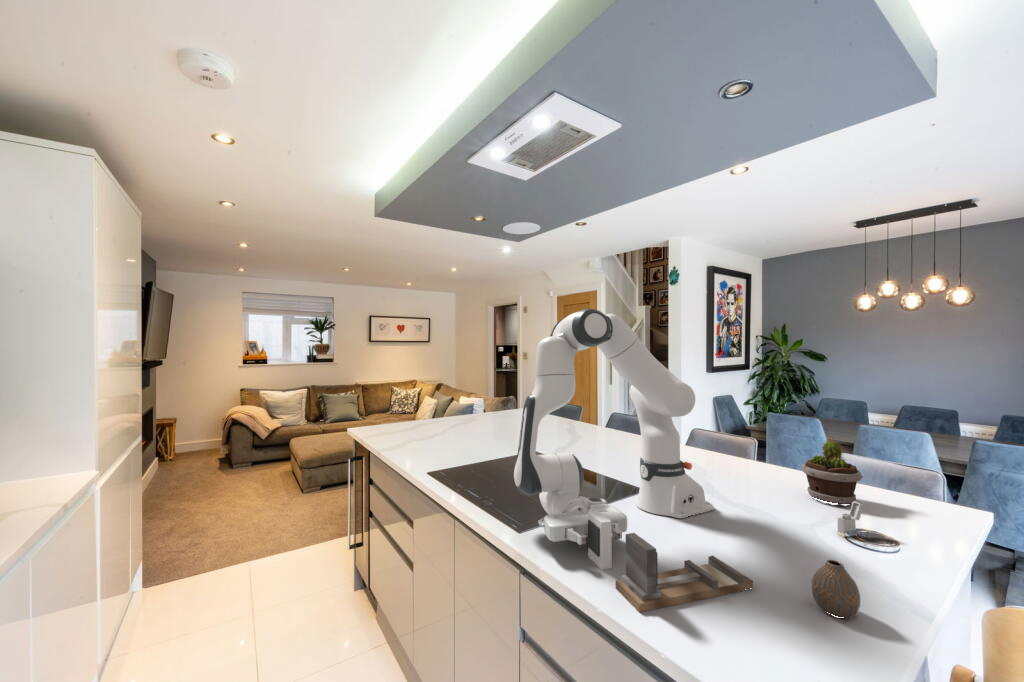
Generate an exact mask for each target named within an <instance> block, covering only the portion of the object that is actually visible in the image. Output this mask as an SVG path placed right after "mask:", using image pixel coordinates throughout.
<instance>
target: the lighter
mask: <svg viewBox="0 0 1024 682" xmlns="http://www.w3.org/2000/svg"><path fill="white" fill-rule="evenodd" d="M850 506H851V507H850V509H849V512H848V513H846V512H845V513H842V514H841V517H837V533H838V532H840V533H843V534H845V533H846V532H847V531H851V530H856V529H857V528H856V527H857V526H856V521H860V518H861V515H862V512H863V510H864V504H862V503H860V502H857V501H853V503H852V504H851V505H850Z"/></svg>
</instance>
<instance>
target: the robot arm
mask: <svg viewBox="0 0 1024 682" xmlns="http://www.w3.org/2000/svg"><path fill="white" fill-rule="evenodd" d="M593 347H597V348H598V349H600V350H601V352H602V354H603V355H604V356H605V357H606V359H607V360H608V362H609V363H611V365H612V366H613V368H614V369H615V370H616V372H617V373H618V374H619V375H620V376H621V378H622V379H624V380H625V381H627V382H628V383H629V384H630V388H629V397H630V400H631V402H632V403H633V405H634V408H635V411H636V415H637V416H636V417H637V420H638V425H639V430H640V437H641V438H640V439H641V440H640V441H641V443H640V444H641V445H640V446H641V447H640V449H641V456H640V459H639V473H640V484H639V491H638V495H637V500H636V502H635V505H636V506H637V507H638V508H639V509H640V510H642V511H644V512H648V513H651V514H655V515H661V516H665V517H666V516H667V517H672V518H677V519H686V518H689V517H688V516H690V517H692V516H691V515H693V516H696V515H695V514H697V515H699V513H701V514H703V512H704V513H707V511H708V512H711V511H710V510H712V511H714V510H715V507H714V505H713V503H711V502H709V501H708V500H707V499H706V497H705V496H706V495H705V491H704V488H703V487H702V485H701V484H700V483H699V482H697V481H696V480H694V479H693V478H692V477H691V476H690V475H689V474H688V473H686V470H688V471H691V470H692V469H693V465H692V463H690V462H688V461H684V462H683V461H682V460H681V438H680V433H679V430H677V428H676V426H675V424H674V421H673V418H677V417H684V416H687V415H689V414H690V413H691V412H692V411H693V410H694V408H695V405H696V394H695V392H694V389H692V387H691V386H690V385H688V384H687V383H686V382H683V380H681V379H680V378H678V377H677V376H676V375H675V374H674V373H672V372H671V371H670V370H669V369H668V368H667V367H666V366H664V364H662V363H661V362H660V361H659V360H658V359H657V358H656V357H655V356H654V355H653V354H652V353H651V351H650V350H649V349H648V348H647V347H646V345H645V344H644V343H643V341H642V340H641V339H640V338H639V336H638V335H637V334H636V332H635V331H634V330H633V329H632V328H631V327H630V326H629V325H628V324H627V323H626V322H625V321H624V320H623V319H622V318H621V317H620V316H618V315H617V314H614V313H605V314H604V313H603V312H601V311H600V310H598V309H594V308H585V309H581V310H579V311H576V312H573V313H570V314H569V315H567V316H566V317H564V318H562V319H560V320H559V321H557V322H556V324H555V325H554V326H553V328H552V330H551V334H550V335H549V336H547V337H544V338H543V339H541V340H540V341H539V342H538V345H537V347H536V352H535V353H536V355H535V368H534V369H535V384H534V387H533V390H532V392H531V394H529V395H528V396H527V397H525V400H524V404H523V408H522V409H523V410H522V414H521V415H522V416H521V422H520V423H521V424H520V429H519V430H520V432H519V440H518V447H517V448H518V449H517V455H516V459H515V464H514V471H513V479H514V484H515V487H516V488H517V489H518V490H519V491H520V492H521V493H523V494H524V495H526V496H528V497H529V496H534V495H538V494H539V495H538V497H539V501H540V504H541V506H542V507H543V509H544V511H545V512H546V513H547V514H546V515H545V516H543V517H541V519H538V521H537V523H538V525H539V526H540V527H541V528H543V531H544V534H545V536H546V537H547V539H548V540H549V541H550V542H553V543H556V542H563V541H564V542H565V541H571V542H574V543H577V544H578V545H579V546H581V545H586V544H587V541H586V540H587V538H588V512H594V511H599V512H600V513H601V514H603V515H604V516H605V517H607V518H608V519H609V520H610V521H612V538H614V540H621V539H623V533H626V532H627V530H628V517H627V515H626V514H625V513H624V512H622V511H621V510H619V509H618V508H617V507H615V506H614V505H611V504H608V503H607V501H606V499H604V498H594V497H586V496H583V495H582V496H579V495H580V494H581V493H582V489H583V486H584V481H585V480H584V479H585V476H584V475H585V474H584V468H583V465H582V463H581V461H579V459H578V457H576V456H575V455H574V453H572V452H570V451H567V452H553V453H546V454H536V451H537V442H538V432H539V426H540V423H541V422H542V420H543V419H544V418H545V417H546V416H548V415H549V414H550V413H552V412H555V411H557V410H559V409H561V408H563V407H564V406H566V405H567V404H568V403H569V402H570V401H571V400H572V399H573V398H574V396H575V393H576V371H575V370H576V369H575V357H576V355H577V353H578V352H581V351H585V350H587V349H591V348H593ZM685 469H686V470H685ZM713 509H714V510H713ZM685 517H686V518H685Z"/></svg>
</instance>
